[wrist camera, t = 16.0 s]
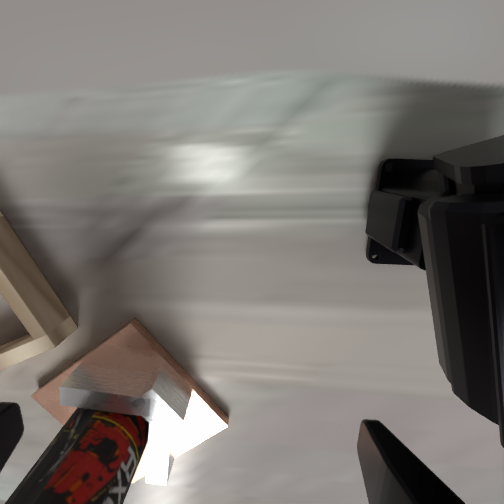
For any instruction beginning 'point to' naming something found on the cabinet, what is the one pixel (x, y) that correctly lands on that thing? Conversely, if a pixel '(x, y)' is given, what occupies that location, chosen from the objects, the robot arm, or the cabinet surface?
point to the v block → (137, 396)
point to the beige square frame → (29, 302)
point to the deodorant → (87, 461)
